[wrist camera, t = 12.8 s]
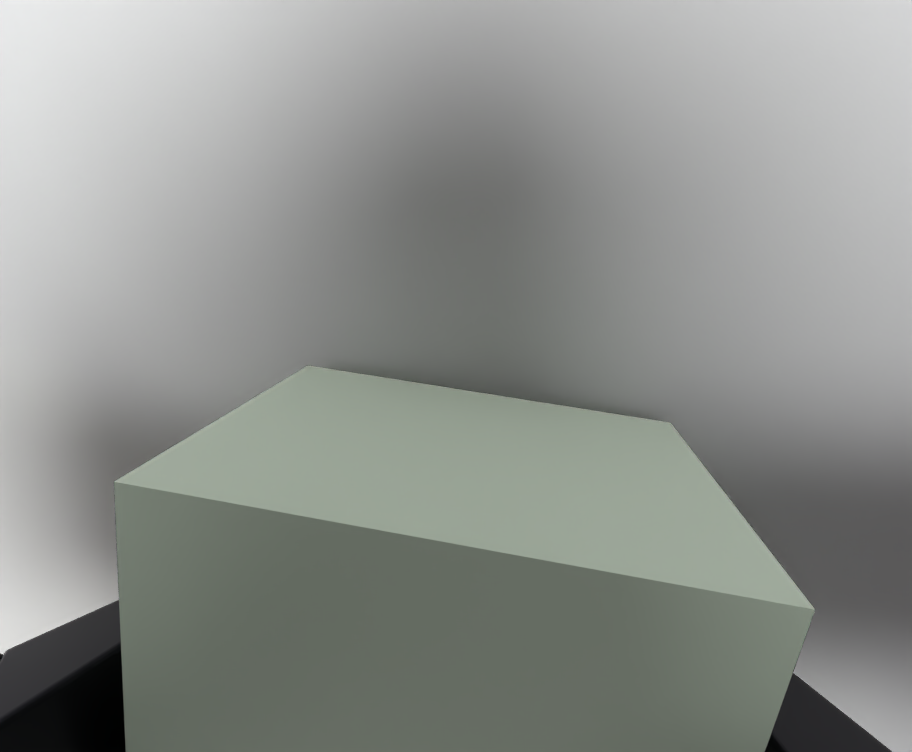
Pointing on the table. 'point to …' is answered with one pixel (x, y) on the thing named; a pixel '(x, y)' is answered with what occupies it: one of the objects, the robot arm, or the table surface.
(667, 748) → the sage brick
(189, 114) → the table surface
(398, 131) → the table surface
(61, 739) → the robot arm
